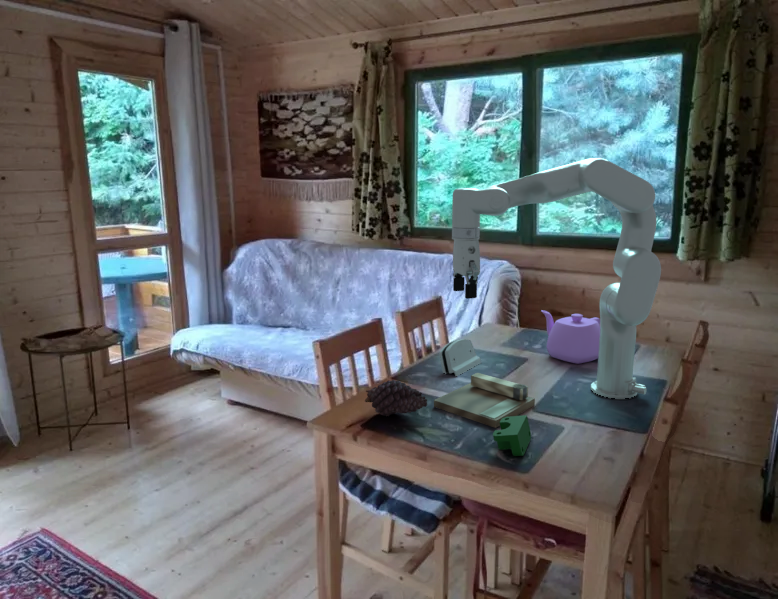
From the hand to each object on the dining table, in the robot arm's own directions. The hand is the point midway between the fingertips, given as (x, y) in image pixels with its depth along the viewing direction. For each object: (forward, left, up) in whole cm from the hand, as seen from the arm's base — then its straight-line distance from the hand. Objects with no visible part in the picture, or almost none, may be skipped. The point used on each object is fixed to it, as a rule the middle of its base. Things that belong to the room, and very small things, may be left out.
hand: (464, 294), depth 166 cm
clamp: (-29, +20, -29) cm, 46 cm away
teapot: (-10, -49, -29) cm, 58 cm away
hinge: (+13, -16, -29) cm, 36 cm away
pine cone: (+3, +26, -29) cm, 39 cm away
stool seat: (-11, +5, -29) cm, 31 cm away
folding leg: (-11, -1, -26) cm, 29 cm away
